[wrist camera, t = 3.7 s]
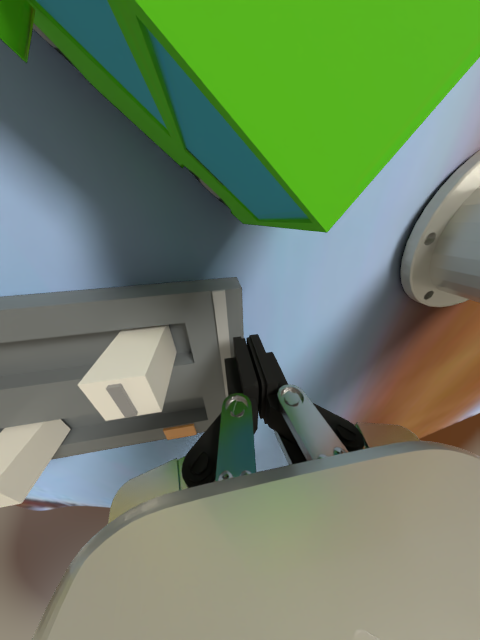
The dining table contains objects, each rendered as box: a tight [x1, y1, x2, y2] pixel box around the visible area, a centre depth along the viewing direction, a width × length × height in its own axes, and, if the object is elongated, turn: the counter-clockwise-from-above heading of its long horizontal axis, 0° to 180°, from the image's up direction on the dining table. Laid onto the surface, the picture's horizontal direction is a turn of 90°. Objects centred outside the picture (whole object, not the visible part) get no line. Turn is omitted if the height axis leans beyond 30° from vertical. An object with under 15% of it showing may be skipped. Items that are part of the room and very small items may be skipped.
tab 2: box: [78, 325, 177, 421], centre depth 11 cm, size 3×3×5 cm
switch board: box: [0, 277, 244, 459], centre depth 15 cm, size 26×16×3 cm, turn 93°
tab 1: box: [0, 419, 71, 507], centre depth 14 cm, size 3×3×5 cm
